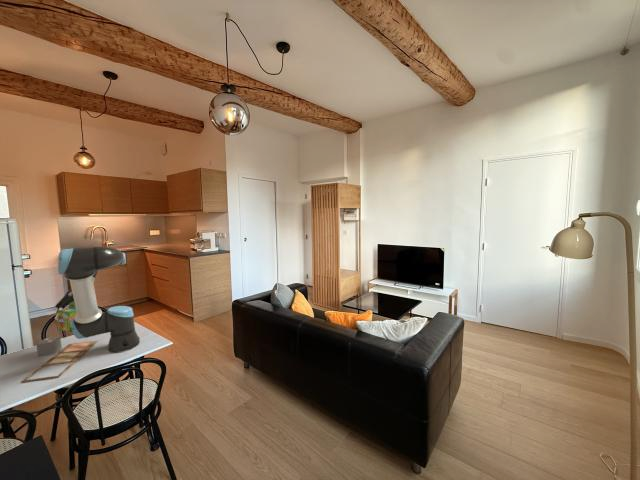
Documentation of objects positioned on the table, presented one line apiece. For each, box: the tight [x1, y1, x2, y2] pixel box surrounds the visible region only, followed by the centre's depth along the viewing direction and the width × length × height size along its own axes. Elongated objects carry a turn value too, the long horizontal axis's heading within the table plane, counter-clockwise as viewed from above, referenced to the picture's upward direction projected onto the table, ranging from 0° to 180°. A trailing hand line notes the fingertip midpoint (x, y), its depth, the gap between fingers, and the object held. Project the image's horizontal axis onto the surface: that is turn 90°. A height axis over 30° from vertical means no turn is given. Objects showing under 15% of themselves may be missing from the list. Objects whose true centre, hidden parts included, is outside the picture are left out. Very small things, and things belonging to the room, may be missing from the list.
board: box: [21, 340, 99, 384], centre depth 146 cm, size 35×14×1 cm, turn 14°
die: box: [35, 336, 63, 357], centre depth 153 cm, size 7×7×7 cm
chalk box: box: [56, 301, 77, 333], centre depth 154 cm, size 9×9×15 cm
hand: (69, 319), depth 152 cm, fingers closed on chalk box, 12 cm apart
